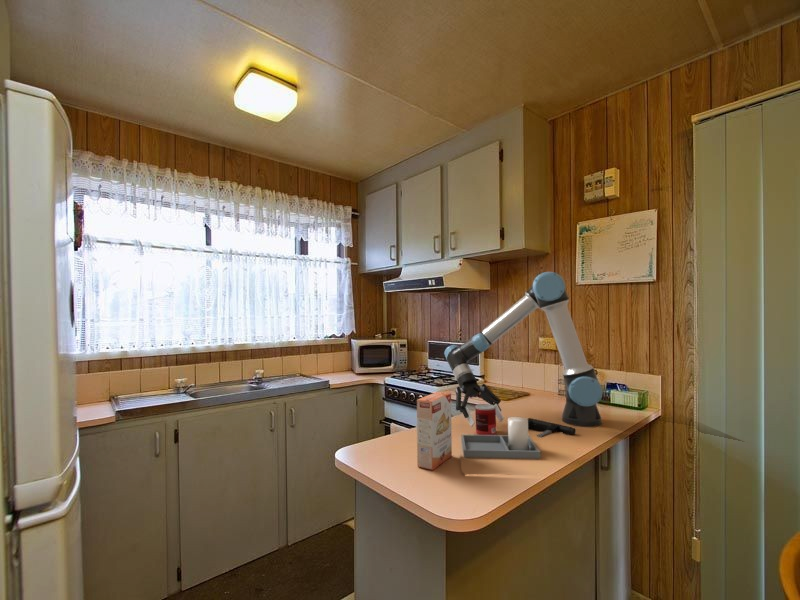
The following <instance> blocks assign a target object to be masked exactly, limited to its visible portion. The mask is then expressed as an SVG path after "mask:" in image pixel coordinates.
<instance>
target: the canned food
mask: <svg viewBox="0 0 800 600" xmlns="http://www.w3.org/2000/svg"><path fill="white" fill-rule="evenodd" d="M474 409H475V414H474V415H475V433H476V435H497V416H496V409H495V406H494V405H491V404H489V403H478V404H476V405H475V408H474Z"/></svg>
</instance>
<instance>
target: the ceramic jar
mask: <svg viewBox="0 0 800 600" xmlns="http://www.w3.org/2000/svg"><path fill="white" fill-rule="evenodd" d="M507 435H508V446H509V450H521V451H529V436H530V435H529V429H528V418H525V417H521V416H520V417H519V416H512V417H508V418H507Z"/></svg>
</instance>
